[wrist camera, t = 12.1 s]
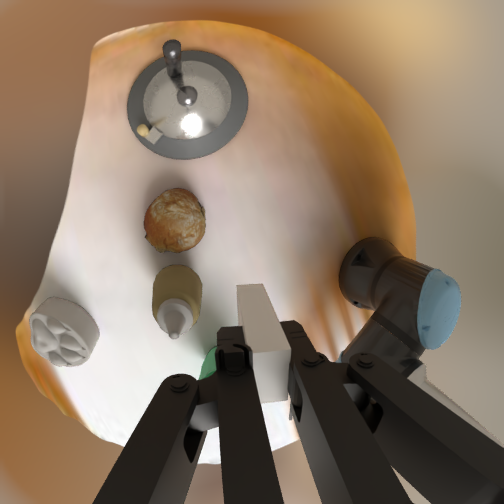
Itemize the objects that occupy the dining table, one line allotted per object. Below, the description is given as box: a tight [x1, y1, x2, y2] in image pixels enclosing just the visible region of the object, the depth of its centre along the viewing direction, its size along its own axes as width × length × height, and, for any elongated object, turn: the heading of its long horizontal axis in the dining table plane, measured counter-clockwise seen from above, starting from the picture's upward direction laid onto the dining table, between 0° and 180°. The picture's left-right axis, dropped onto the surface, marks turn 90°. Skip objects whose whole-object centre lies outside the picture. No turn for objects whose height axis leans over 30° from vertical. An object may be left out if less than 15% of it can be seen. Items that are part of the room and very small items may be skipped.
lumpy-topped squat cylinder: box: [29, 297, 100, 367], centre depth 39 cm, size 10×13×9 cm
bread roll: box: [144, 188, 206, 253], centre depth 41 cm, size 10×10×8 cm
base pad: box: [127, 50, 248, 160], centre depth 37 cm, size 20×20×4 cm
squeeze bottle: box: [152, 265, 202, 339], centre depth 37 cm, size 8×8×18 cm
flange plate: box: [143, 40, 231, 145], centre depth 33 cm, size 14×16×10 cm
